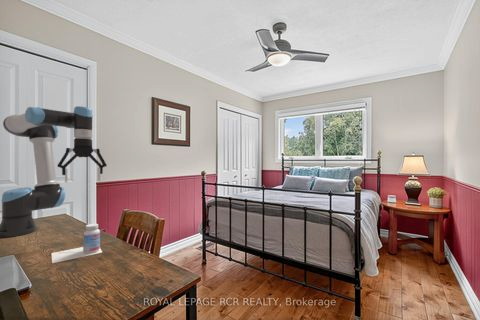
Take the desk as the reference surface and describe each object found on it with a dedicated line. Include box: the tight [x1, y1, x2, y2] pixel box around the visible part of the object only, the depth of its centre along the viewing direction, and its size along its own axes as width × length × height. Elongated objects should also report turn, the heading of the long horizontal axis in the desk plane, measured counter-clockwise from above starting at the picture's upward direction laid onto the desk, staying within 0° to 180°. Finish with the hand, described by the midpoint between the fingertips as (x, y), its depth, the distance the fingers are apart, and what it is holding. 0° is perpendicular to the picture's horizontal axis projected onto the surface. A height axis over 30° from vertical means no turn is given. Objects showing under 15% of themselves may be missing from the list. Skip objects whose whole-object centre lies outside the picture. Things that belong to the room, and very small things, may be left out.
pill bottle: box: [82, 223, 101, 253], centre depth 102 cm, size 6×6×11 cm
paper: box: [51, 246, 103, 264], centre depth 100 cm, size 12×17×1 cm
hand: (83, 181), depth 117 cm, fingers open, 13 cm apart
